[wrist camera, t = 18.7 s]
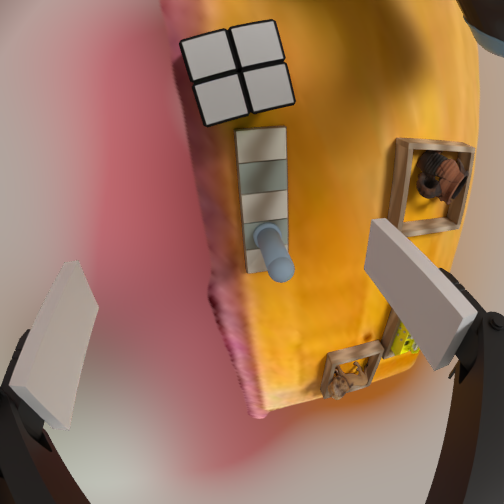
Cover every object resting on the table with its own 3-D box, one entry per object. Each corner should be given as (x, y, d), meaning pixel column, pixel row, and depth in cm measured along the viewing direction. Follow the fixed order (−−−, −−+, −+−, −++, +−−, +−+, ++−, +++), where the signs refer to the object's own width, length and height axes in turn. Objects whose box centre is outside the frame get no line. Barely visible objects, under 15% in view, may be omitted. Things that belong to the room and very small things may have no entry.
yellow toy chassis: (402, 334, 71) (416, 356, 64) (384, 339, 70) (398, 363, 63) (418, 287, 62) (437, 311, 55) (399, 292, 62) (417, 317, 55)
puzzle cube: (257, 32, 32) (275, 17, 23) (275, 98, 37) (297, 104, 29) (182, 50, 32) (177, 40, 23) (203, 118, 37) (204, 129, 29)
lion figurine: (317, 378, 73) (329, 405, 66) (322, 365, 70) (335, 394, 63) (364, 367, 76) (378, 392, 69) (371, 355, 74) (385, 380, 66)
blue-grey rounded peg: (279, 220, 45) (301, 260, 36) (280, 244, 48) (300, 287, 39) (252, 223, 45) (267, 265, 36) (253, 248, 47) (268, 292, 38)
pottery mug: (441, 133, 43) (476, 160, 39) (431, 168, 51) (462, 193, 47) (405, 163, 42) (444, 194, 38) (397, 198, 50) (430, 227, 46)
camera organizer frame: (437, 275, 61) (445, 284, 58) (413, 338, 73) (419, 347, 70) (398, 285, 60) (406, 295, 57) (377, 349, 72) (383, 359, 69)
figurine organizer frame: (378, 339, 69) (384, 349, 66) (365, 376, 78) (369, 386, 76) (327, 352, 68) (332, 363, 65) (320, 389, 77) (323, 399, 74)
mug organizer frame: (462, 142, 44) (475, 147, 41) (449, 220, 53) (459, 228, 50) (396, 137, 42) (409, 142, 39) (385, 229, 51) (395, 238, 49)
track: (284, 125, 39) (286, 127, 38) (286, 263, 52) (288, 268, 50) (233, 129, 39) (234, 131, 37) (245, 269, 51) (247, 274, 50)
